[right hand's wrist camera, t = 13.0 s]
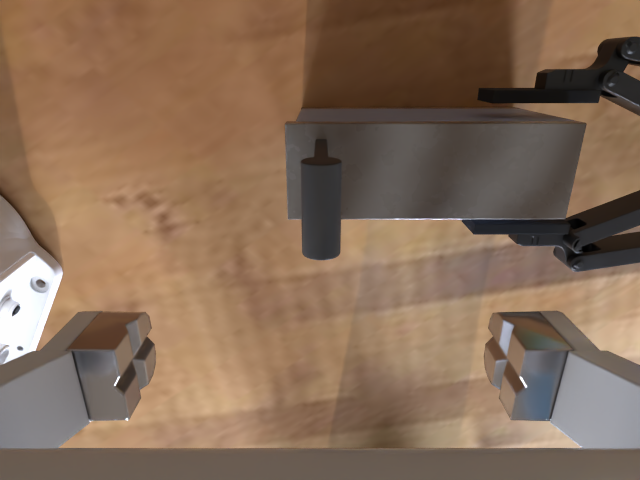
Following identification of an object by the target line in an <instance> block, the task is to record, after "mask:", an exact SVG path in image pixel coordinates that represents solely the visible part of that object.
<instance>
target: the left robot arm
mask: <svg viewBox="0 0 640 480" xmlns="http://www.w3.org/2000/svg"><path fill="white" fill-rule="evenodd" d="M597 52H598V57H597V58H596V60H595V62H594V63H593V64H592V65H591V66H590V67H588V68H586V69H545V70H543V71H540V72H538V73H537V76H536V82H535V88H479V92H478V99H477V100H480V101H485V102H489V103H598V102H599V98H600V96H602V97H604V98H606V99H608V100H609V101H611V102H613V103H615V104H617V105H619V106H621V107H623V108H625V109H627V110H629V111H631V112H633V113H635V114H637V115H639V116H640V81H639V80H637V79H635V78H633V77H631V76H629V75H627V74H625V73H624V72H623V71H624V70H625V68H626V66H627V65H628V64H631V65H636V66H640V37H624V38H614V39H606V40H604V41H603V42H602V43H601V44H600V45H599V47H598V51H597ZM462 222H463V223H464V224H465V225H466V226H467V227H468V229H469V230H470V231H471V232H472V233H473V234H509V237H510V238H511V239H512V240H513V241H514V242H515V243H516V244H519V245H522V246H555V248H554V251H553V253H554V255H555V257H557V258H558V259H559V260H560V261H561V262H563V263H564V264H565V265H566V266H568V267H569V268H570V269H571V270H573V271H575V272H579V271H586V270H593V269H599V268H606V267H613V266H619V265H626V264H633V263H639V262H640V232H634V233H627V234H621V235H614V234H617V233H620V232H623V231H625V230H628V229H631V228H634V227H636V226H639V225H640V190H639V191H637V192H634V193H631V194H629V195H626V196H623V197H621V198H618V199H615V200H613V201H610V202H607V203H605V204H602V205H599V206H597V207H594V208H592V209H589V210H586V211H584V212H581V213H578V214H576V215H573V216H570V217H568V218H565V219H462ZM612 235H614V236H612Z"/></svg>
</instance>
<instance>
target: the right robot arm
mask: <svg viewBox="0 0 640 480" xmlns="http://www.w3.org/2000/svg"><path fill="white" fill-rule="evenodd" d="M62 275H63V271H62V268H61V266H60V264H59V263H58V262H57V261H56V260H55V259H54V258H53V257H52V256H51V255H50V254H49V253H48V252H47V251H45V250H44V249H43V248H42V247H41V246H39V245H38V243H37V242H36V241H35V239H34V238H33V236H32V234H31V233H30V231H29V229H28V227H27V226H26V224H25V222H24V221H23V219H22V218H21V217H20V215H19V214H18V213H17V211H16V210H15V209H14V208H13V207H12V206H11V205H10V204H9V203H8V202H7V201H6V200H5V199H4V198H3V197H2V196H1V195H0V480H640V365H638V364H636V363H634V362H631V361H629V360H627V359H625V358H622V357H620V356H618V355H616V354H613V353H611V352H609V351H600V350H599V349H598V348H597V347H596V346H595V345H594V344H593V343H592V342H591V341H590V340H589V339H588V338H587V337H586V336H585V335H584V334H583V333H582V332H581V331H580V330H579V329H578V328H577V327H576V326H575V325H574V324H573V323H572V322H571V321H570V320H569V319H568V318H567V317H566V316H565V315H564V314H563V313H562V312H559V311H537V312H498V313H493V314H492V316H491V318H490V321H489V327H488V329H489V330H490V332H491V333H492V335H493V337H492V338H491V339H490V340H489V341H488V342H487V343H486V344H485V352H484V364H485V370H486V373H487V376H488V378H489V380H490V382H491V384H492V385H494V386H495V387H497V388H498V389H500V394H499V399H500V401H501V403H502V405H503V406H504V408H505V410H506V412H507V414H508V415H509V417H510V419H511V420H531V421H551V422H550V423H551V424H552V425H554V426H555V427H556V428H558V429H559V430H560V431H561V432H563V433H564V434H565V435H566V436H568V437H569V438H570V439H572V440H573V441H574V442H575V443H577V444H578V445H579V446H580V447H582V448H58V447H60V446H61V445H62V444H64V443H65V442H66V441H67V440H69V439H70V438H71V437H72V436H74V435H75V434H76V433H78V432H79V431H80V430H81V429H83V428H84V427H85V426H86V425H88V424H89V423H90V422H89V421H108V420H129V419H130V417H131V416H132V414H133V412H134V410H135V408H136V406H137V405H138V403H139V401H140V399H141V394H140V389H142V388H143V387H145V386H146V385H148V384H149V382H150V380H151V378H152V376H153V374H154V369H155V365H156V350H155V344H154V343H153V342H152V341H151V340H150V339H149V338H148V337H147V335H148V333H149V332H150V330H151V329H152V327H151V322H150V317H149V315H148V314H147V313H146V312H119V311H104V312H103V311H82V312H78V313H77V314H76V315H75V316H74V317H73V318H72V319H71V320H70V321H69V322H68V323H67V324H66V325H65V326H64V327H63V328H62V329H61V330H60V331H59V332H58V333H57V334H56V335H55V336H54V337H53V338H52V339H51V340H50V341H49V342H48V343H47V344H46V345H45V346H44V347H43V348H42V349H41V350H40V351H35V350H36V347H37V345H38V342H39V339H40V336H41V334H42V331H43V328H44V325H45V323H46V320H47V317H48V314H49V312H50V309H51V306H52V303H53V301H54V298H55V295H56V292H57V289H58V287H59V284H60V281H61V278H62ZM41 280H43V281H44V282H45V284H44V283H42V282H41Z"/></svg>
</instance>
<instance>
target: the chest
mask: <svg viewBox="0 0 640 480" xmlns="http://www.w3.org/2000/svg"><path fill="white" fill-rule="evenodd" d="M319 121H574V120H570V119H565V118H560V117H556V116H551V115H546V114H542V113H537V112H532V111H528V110H523V109H520V108H515V107H427V108H301V111H300V113H299V116H298V118H297V120H296V122H319Z"/></svg>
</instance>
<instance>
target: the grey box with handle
mask: <svg viewBox="0 0 640 480" xmlns="http://www.w3.org/2000/svg"><path fill="white" fill-rule="evenodd" d="M585 128H586V123H583V122H579V121H319V122H286V123H285V142H286V175H287V207H288V219H302V253H303V255H304V256H305V257H307V258H309V259H313V260H329V259H333V258H336V257H337V256H338V255H339V254H340V235H341V219H565V218H566V214H567V209H568V205H569V200H570V196H571V191H572V187H573V182H574V178H575V173H576V169H577V164H578V160H579V155H580V151H581V146H582V142H583V137H584V133H585Z"/></svg>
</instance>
